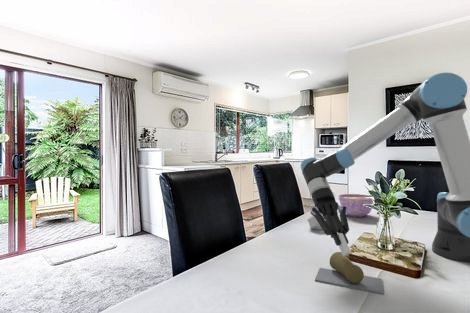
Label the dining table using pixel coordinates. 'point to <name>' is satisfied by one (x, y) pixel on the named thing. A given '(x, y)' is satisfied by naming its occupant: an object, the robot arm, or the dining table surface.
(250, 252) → the dining table surface
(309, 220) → the die
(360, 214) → the purple ceramic bowl
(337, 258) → the olive waisted cylinder
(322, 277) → the mat
